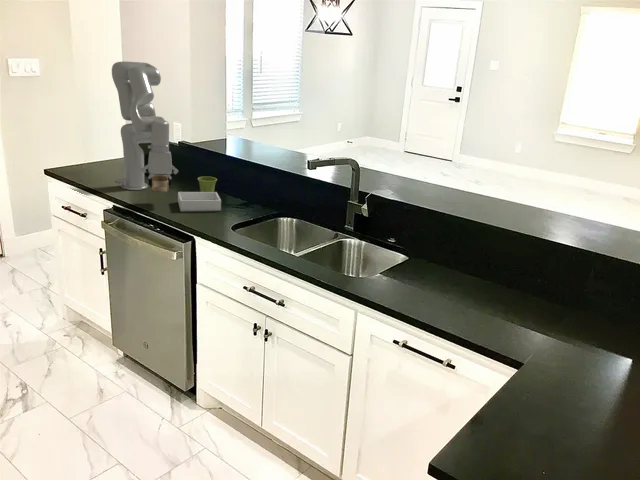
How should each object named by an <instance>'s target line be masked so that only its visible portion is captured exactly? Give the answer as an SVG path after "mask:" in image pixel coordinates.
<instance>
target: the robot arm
mask: <svg viewBox="0 0 640 480" xmlns="http://www.w3.org/2000/svg"><path fill="white" fill-rule="evenodd" d="M111 79H112V81H113V83H114V86H115V88H116V90H117V95H118V102H119V108H120V114H121V117H122V119H123V120H125V121H131V122H130V123H125V124H124V125H122V126H121V128H120V137H121V141H122V142H121V143H122V150H123V151H122V152H123V177H121V178H114V183H117V184H120V188H122V189H124V190H128V191H141V190H145V189H147V188H148V187H149V186H150V188H151V189H152V175H167V177H168V181H169V187H171V186H172V179H173V178H174V177H175V176H176V175H177V174H179V170H178V169H177V168H176V167H175V166H174V165H173V163H172V161H173V160H172V151H170V123H169V121H167V120H165V118H163V117H162V116H157V115H156V114H157V113H156V110H155V106H154V104H153V103H152V101H153V100H154V98H155V94H154V91H153V89H152V87H156V86H159V85H160V84H161V79H162V77H161V74H160V71H159V69H158V68H157V67H156V66H154V65H152V64H150V63H148V62H140V61H139V62H138V61H117V62H114V63H113V64H112V67H111ZM139 144H149V145H147V149H150V150H149V153H148V159H147V160H148V161H147V162H148V163H147V164H146V165H145V152H144V150H143V148H141V146H140V145H139ZM146 170H148V171H146ZM145 176H146V177H147V178H148V183H145Z"/></svg>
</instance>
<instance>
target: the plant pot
mask: <svg viewBox="0 0 640 480" xmlns="http://www.w3.org/2000/svg"><path fill="white" fill-rule="evenodd" d="M197 181H198V183H199V192H215V186H216V183H217V181H218V178H216V177H213V176H199V177H197Z"/></svg>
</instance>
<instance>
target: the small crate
mask: <svg viewBox="0 0 640 480" xmlns="http://www.w3.org/2000/svg"><path fill="white" fill-rule="evenodd" d="M169 189H170V186H169V181H168V176H167V175H164V174H153V175H152V188H151V192H152V193H169V192H170V191H169Z"/></svg>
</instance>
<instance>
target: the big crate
mask: <svg viewBox="0 0 640 480" xmlns="http://www.w3.org/2000/svg"><path fill="white" fill-rule="evenodd" d="M177 203H178V207H179V211H180V212H221V211H222V199H221V197H220V195H219V194H218V192H217V191H214V192H200V191H178V192H177Z"/></svg>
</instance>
